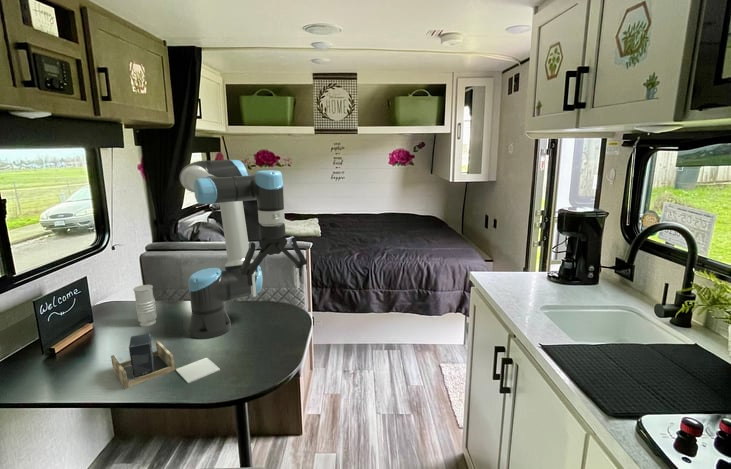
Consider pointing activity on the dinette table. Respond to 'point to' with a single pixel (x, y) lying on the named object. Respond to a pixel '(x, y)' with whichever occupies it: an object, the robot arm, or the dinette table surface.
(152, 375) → the frame
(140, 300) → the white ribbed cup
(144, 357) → the box
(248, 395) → the dinette table surface
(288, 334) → the dinette table surface
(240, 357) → the dinette table surface
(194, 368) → the mat
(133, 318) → the dinette table surface
